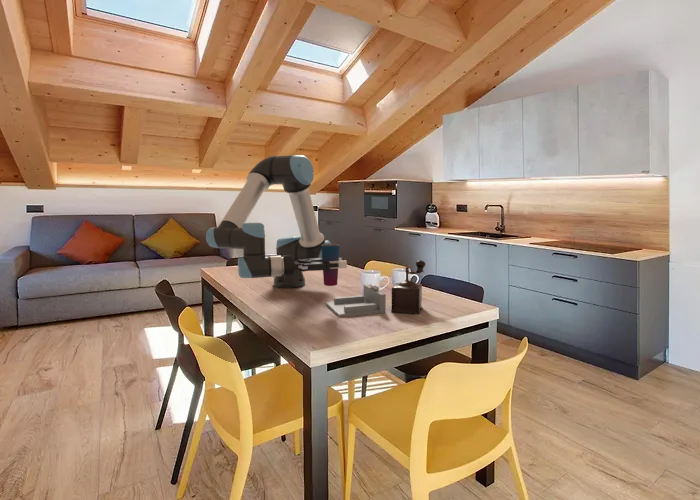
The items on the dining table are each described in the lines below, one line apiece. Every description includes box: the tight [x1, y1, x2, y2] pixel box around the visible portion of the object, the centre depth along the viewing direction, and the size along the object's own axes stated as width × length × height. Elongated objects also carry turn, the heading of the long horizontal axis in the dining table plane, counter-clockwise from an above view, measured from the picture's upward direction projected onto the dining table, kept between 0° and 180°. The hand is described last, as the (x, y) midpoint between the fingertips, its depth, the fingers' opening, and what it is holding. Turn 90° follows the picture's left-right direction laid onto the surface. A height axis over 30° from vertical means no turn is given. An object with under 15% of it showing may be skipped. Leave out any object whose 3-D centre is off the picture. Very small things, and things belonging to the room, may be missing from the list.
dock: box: [325, 283, 387, 318], centre depth 160 cm, size 18×18×9 cm
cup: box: [321, 243, 340, 287], centre depth 156 cm, size 7×7×15 cm
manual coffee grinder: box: [391, 259, 426, 315], centre depth 160 cm, size 16×11×18 cm
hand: (343, 262), depth 158 cm, fingers closed on cup, 6 cm apart
